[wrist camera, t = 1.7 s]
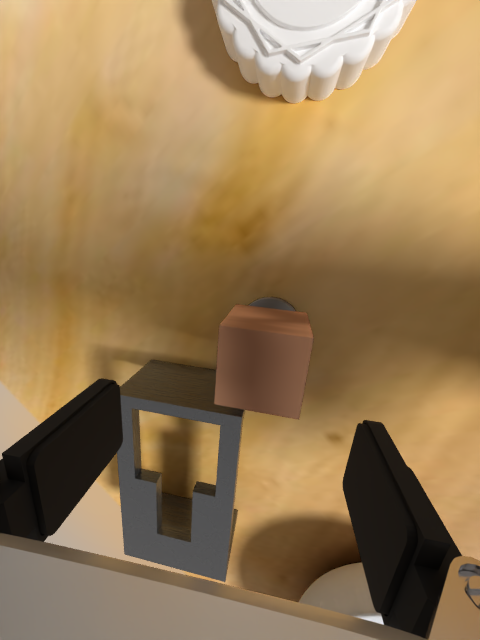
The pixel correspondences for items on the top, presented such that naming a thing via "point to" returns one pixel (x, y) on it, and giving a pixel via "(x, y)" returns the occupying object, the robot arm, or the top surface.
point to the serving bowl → (343, 593)
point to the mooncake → (307, 41)
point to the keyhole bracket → (146, 486)
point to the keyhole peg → (263, 358)
